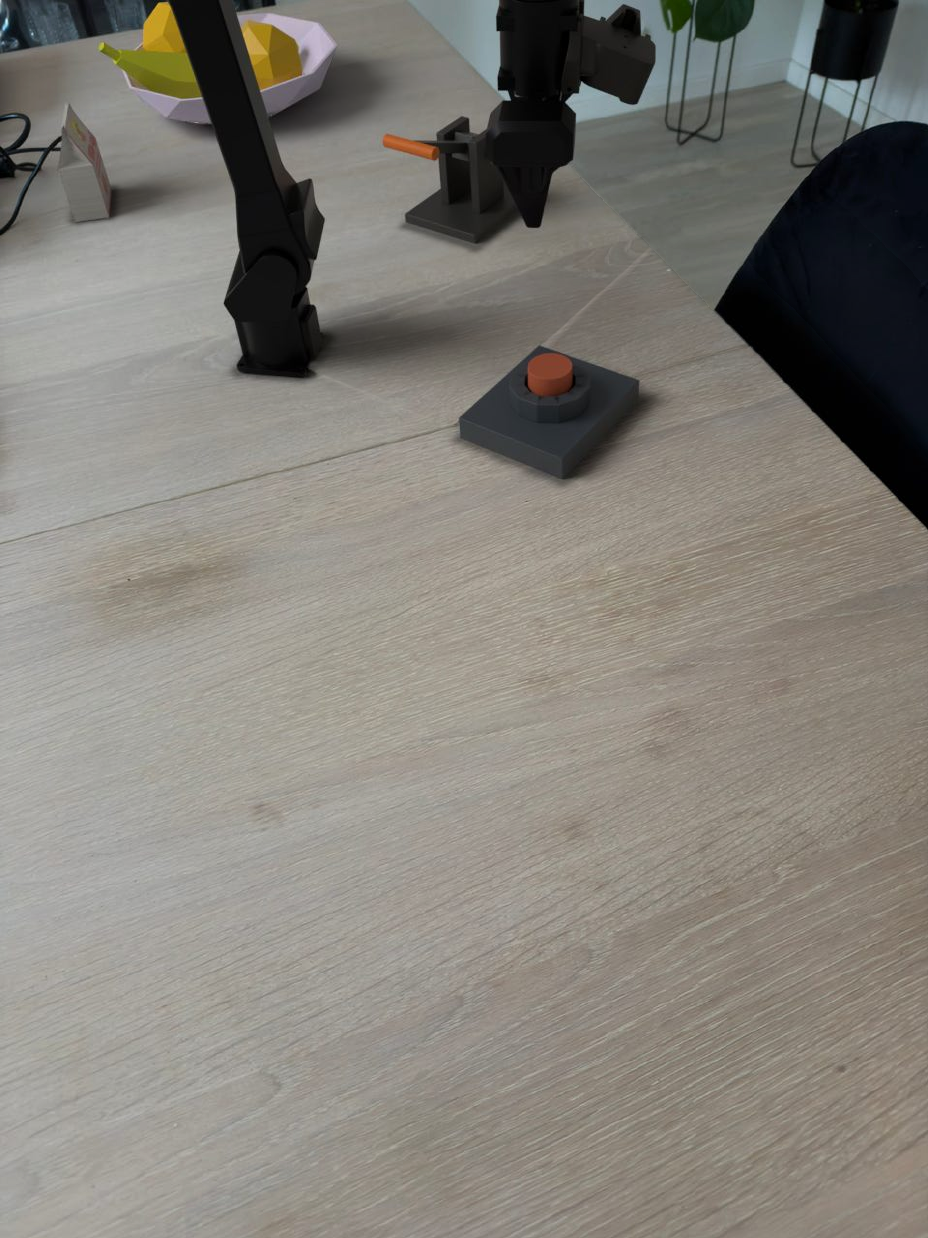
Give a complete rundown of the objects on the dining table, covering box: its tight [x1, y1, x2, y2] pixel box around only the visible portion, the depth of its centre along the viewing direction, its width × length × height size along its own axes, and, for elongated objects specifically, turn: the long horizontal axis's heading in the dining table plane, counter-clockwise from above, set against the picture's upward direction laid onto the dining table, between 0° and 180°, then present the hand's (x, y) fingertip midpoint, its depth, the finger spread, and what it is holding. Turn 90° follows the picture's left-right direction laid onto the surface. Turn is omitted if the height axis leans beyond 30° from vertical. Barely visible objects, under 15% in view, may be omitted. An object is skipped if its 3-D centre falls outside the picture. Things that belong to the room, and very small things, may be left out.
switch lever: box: [381, 131, 479, 162], centre depth 108 cm, size 12×6×2 cm, turn 144°
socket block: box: [458, 344, 640, 480], centre depth 90 cm, size 12×10×4 cm
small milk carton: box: [56, 101, 113, 223], centre depth 119 cm, size 4×7×10 cm, turn 10°
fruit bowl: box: [97, 1, 338, 125], centre depth 135 cm, size 28×27×11 cm
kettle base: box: [404, 115, 519, 245], centre depth 113 cm, size 12×9×9 cm
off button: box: [528, 353, 573, 396], centre depth 88 cm, size 4×4×2 cm
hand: (538, 198), depth 89 cm, fingers open, 9 cm apart
